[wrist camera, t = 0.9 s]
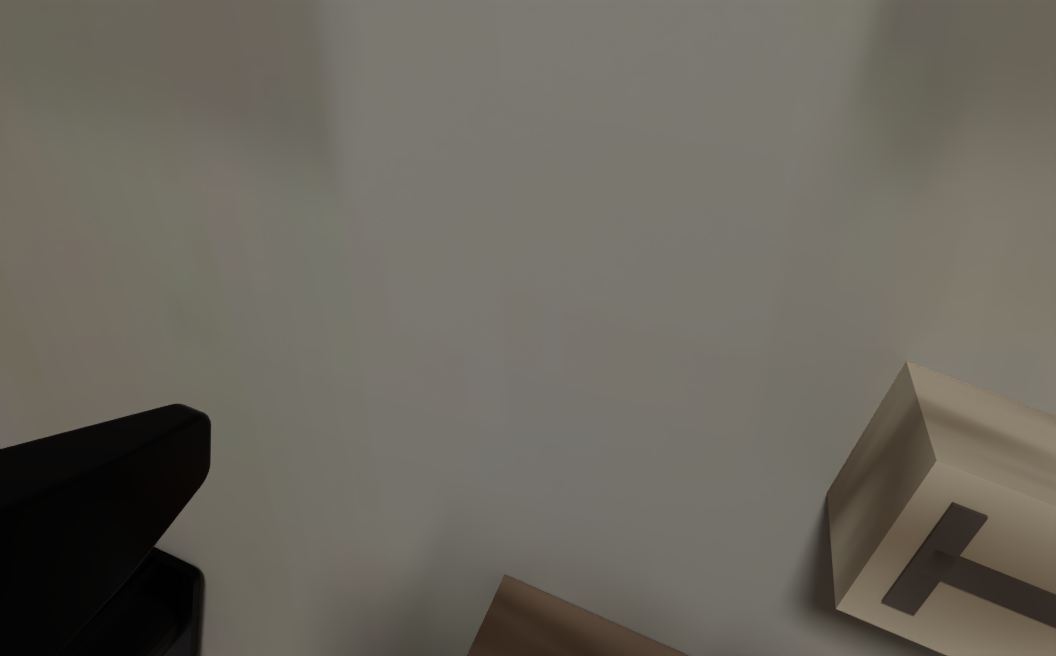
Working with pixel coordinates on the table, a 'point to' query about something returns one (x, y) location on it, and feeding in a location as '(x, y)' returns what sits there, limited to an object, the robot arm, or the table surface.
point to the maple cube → (950, 520)
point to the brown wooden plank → (553, 628)
